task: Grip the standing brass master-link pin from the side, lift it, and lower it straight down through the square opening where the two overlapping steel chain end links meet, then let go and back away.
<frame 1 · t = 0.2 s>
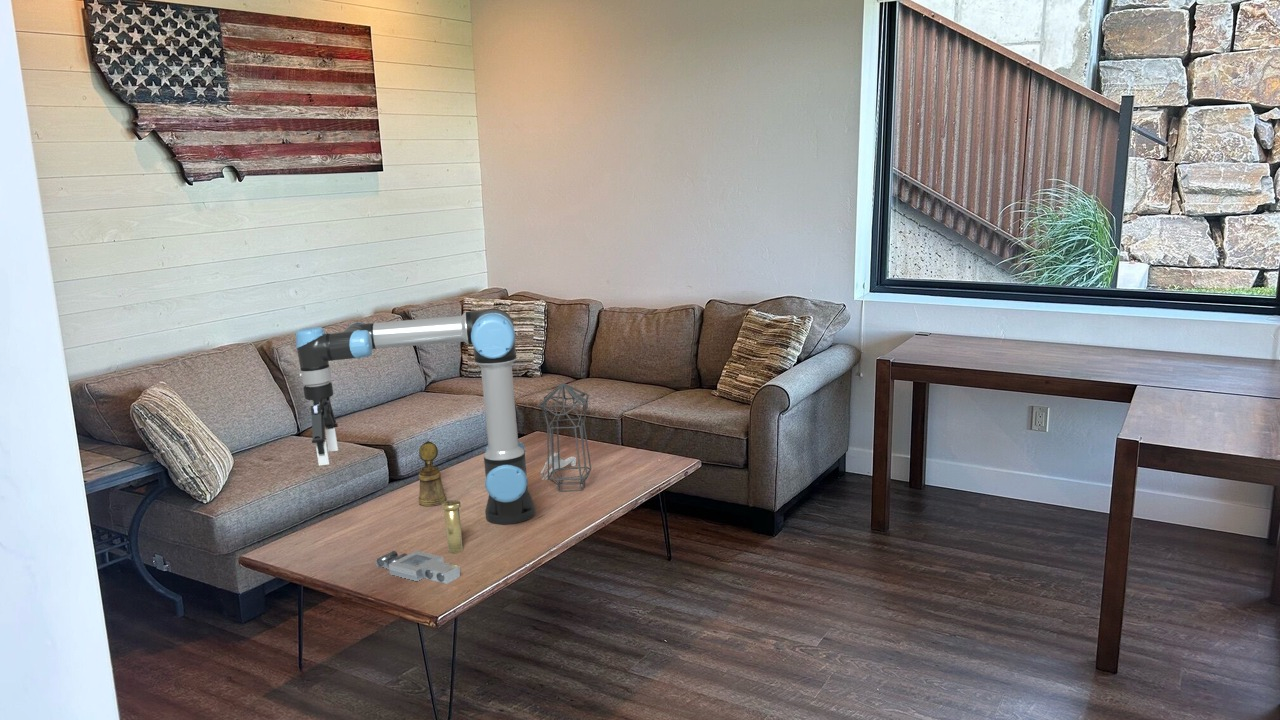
hand: (328, 457, 259), 27 cm above the table, tool pointing down, fingers open, 13 cm apart
geometric lantern: (570, 486, 308), on the table
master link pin: (455, 550, 259), on the table
chain ends: (417, 571, 247), on the table
brass bell: (432, 499, 302), on the table
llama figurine: (559, 474, 322), on the table
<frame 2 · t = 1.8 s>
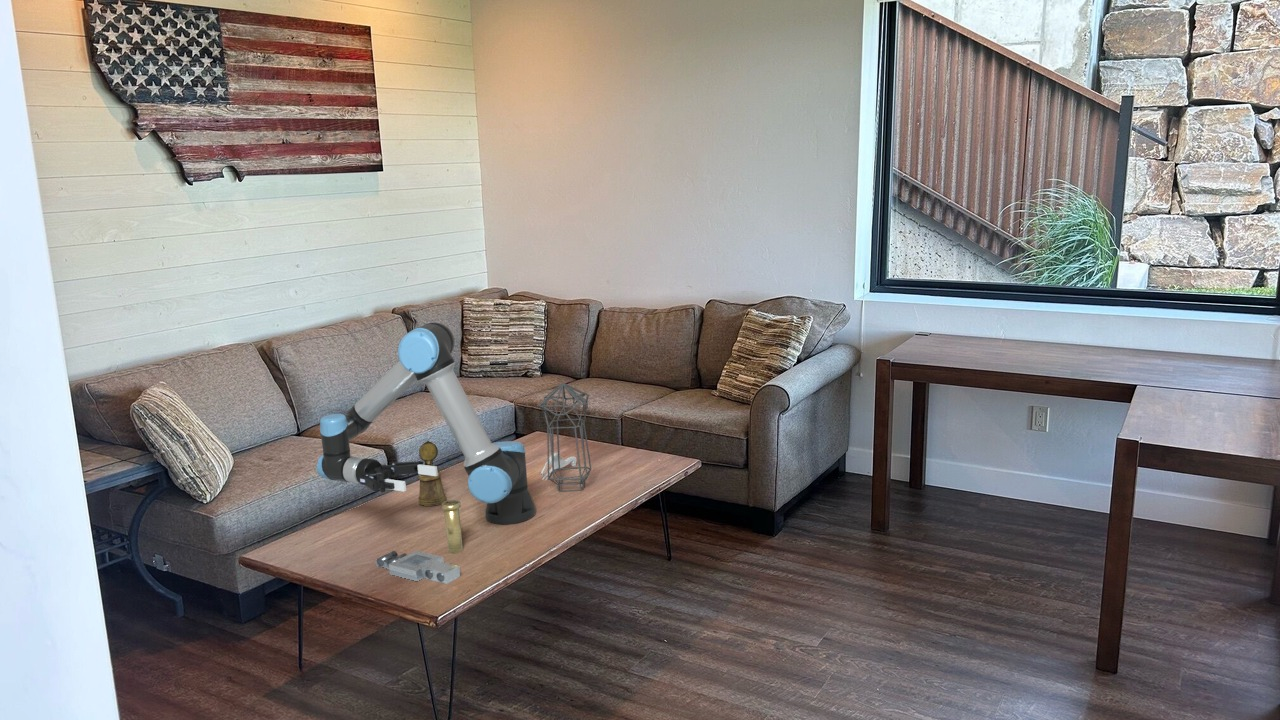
hand: (421, 478, 260), 20 cm above the table, tool horizontal, fingers open, 13 cm apart
nothing on the table moved.
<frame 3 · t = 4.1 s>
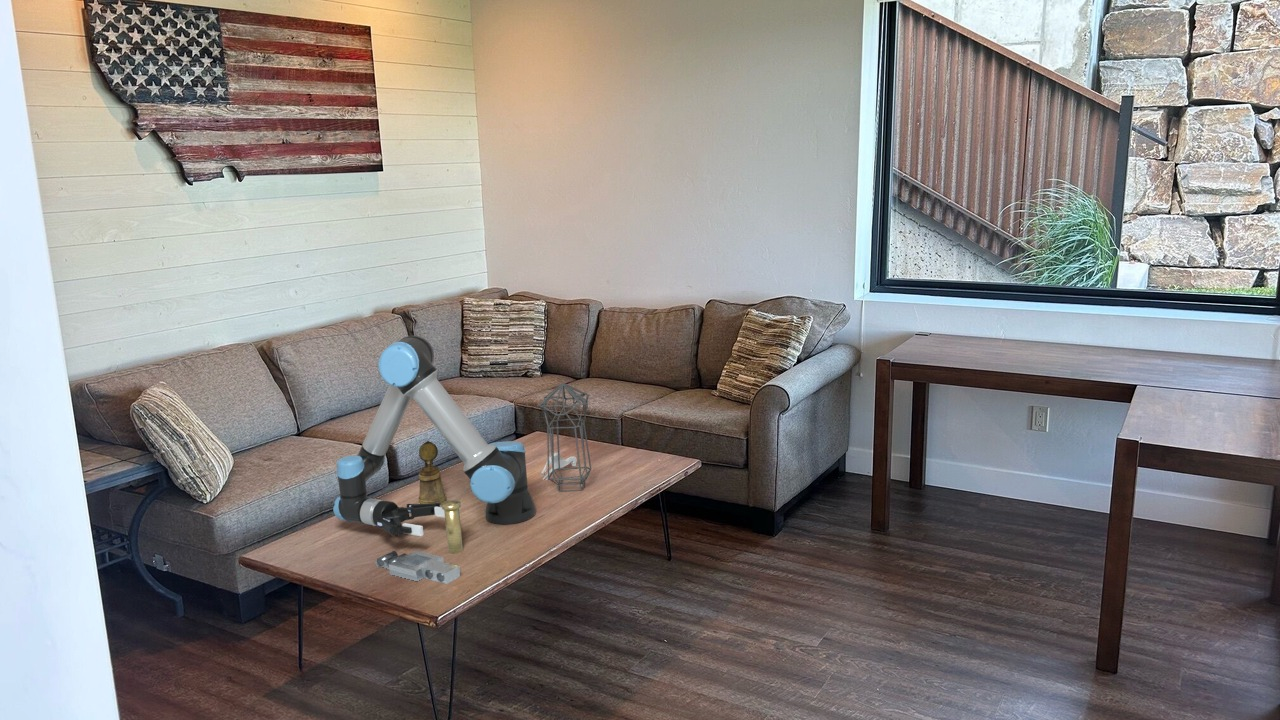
hand: (438, 522, 260), 8 cm above the table, tool horizontal, fingers open, 13 cm apart
nothing on the table moved.
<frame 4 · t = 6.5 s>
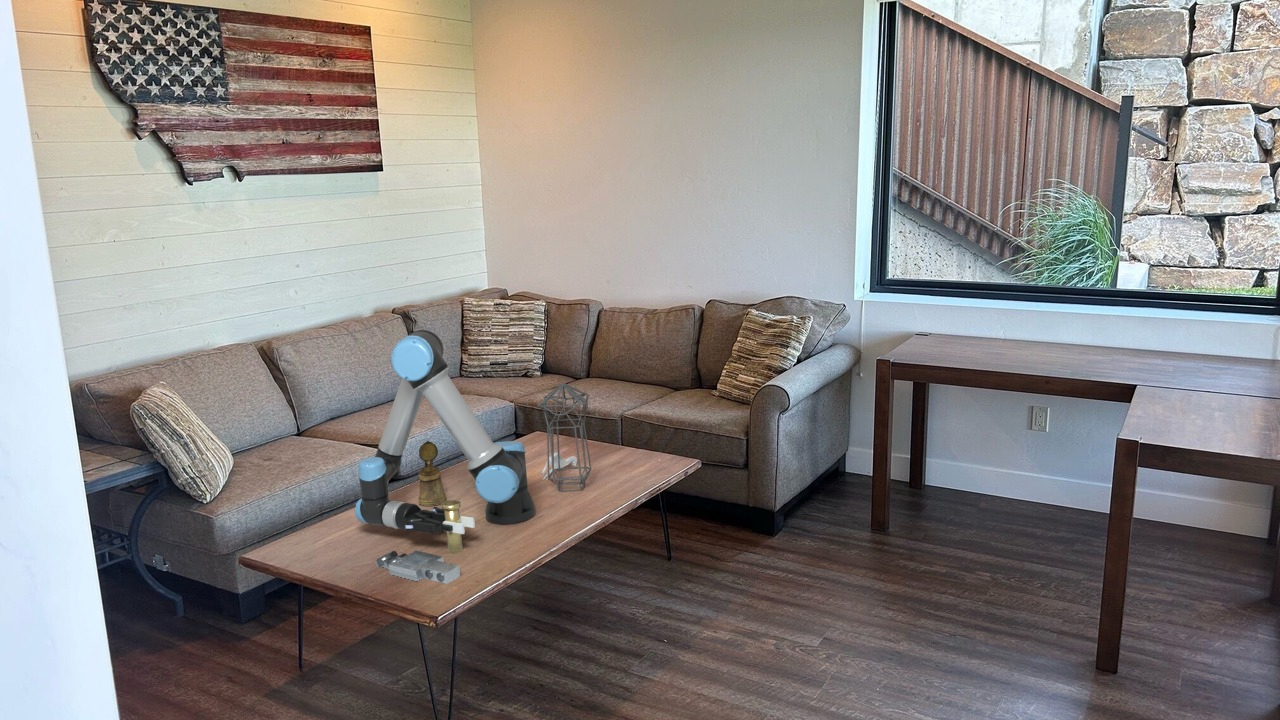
hand: (468, 525, 255), 8 cm above the table, tool horizontal, fingers closed on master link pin, 4 cm apart
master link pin: (455, 550, 259), on the table, touching gripper
everything else where it was.
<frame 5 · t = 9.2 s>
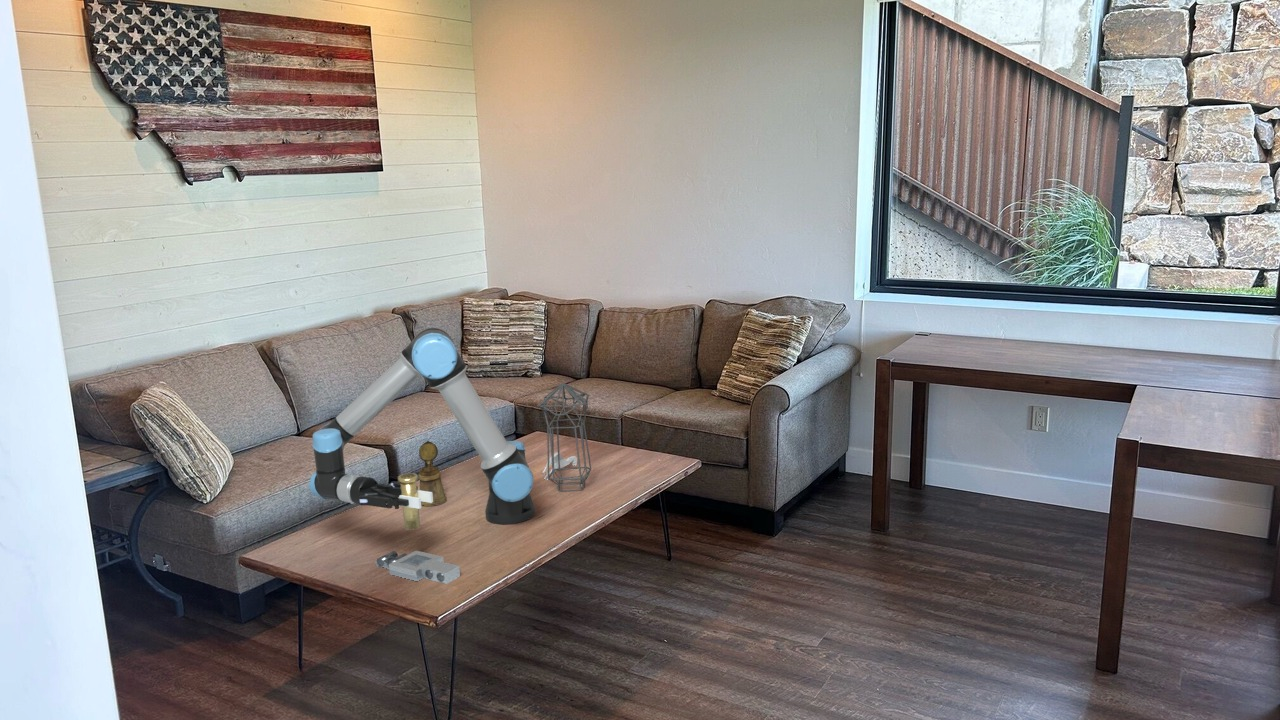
hand: (425, 500, 241), 20 cm above the table, tool horizontal, fingers closed on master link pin, 4 cm apart
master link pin: (412, 526, 245), point 12 cm above the table, touching gripper
everything else where it was.
when the fingers open (9 cm above the table, at t = 12.2 s): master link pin stays where it is, resting in chain ends.
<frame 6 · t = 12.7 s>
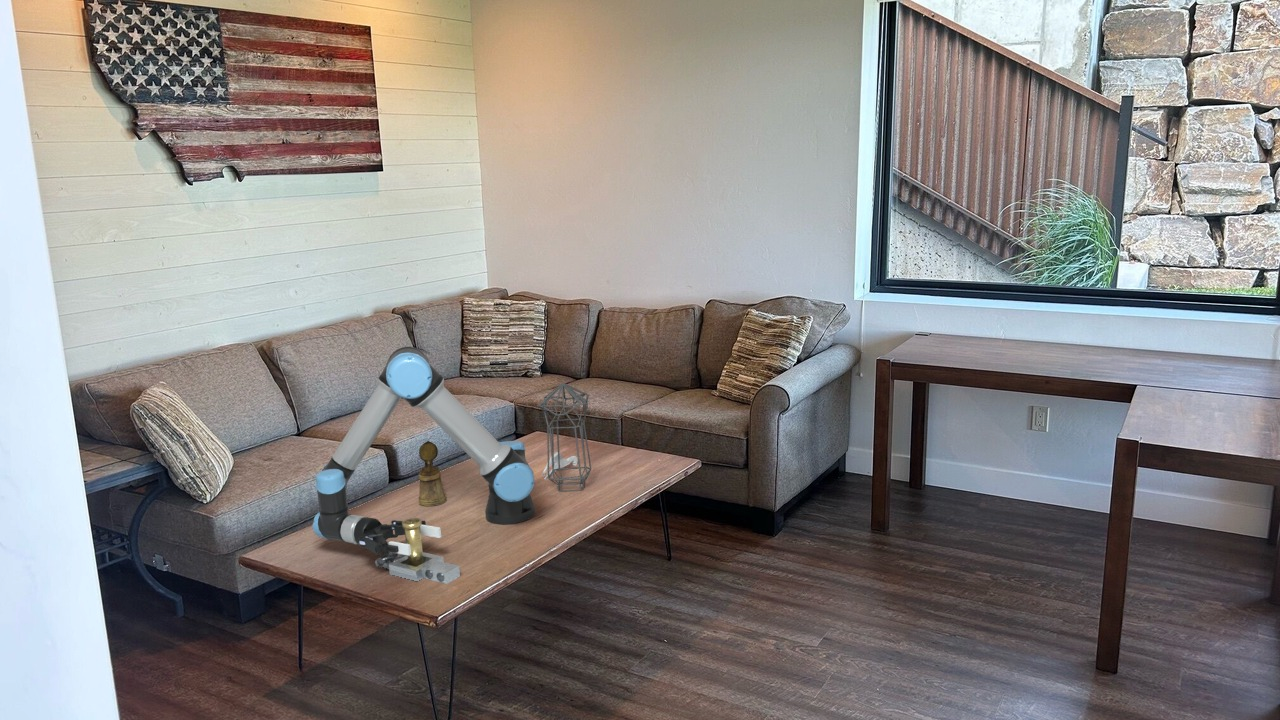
hand: (425, 541, 243), 9 cm above the table, tool horizontal, fingers open, 11 cm apart
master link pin: (416, 571, 247), resting in chain ends
everything else where it was.
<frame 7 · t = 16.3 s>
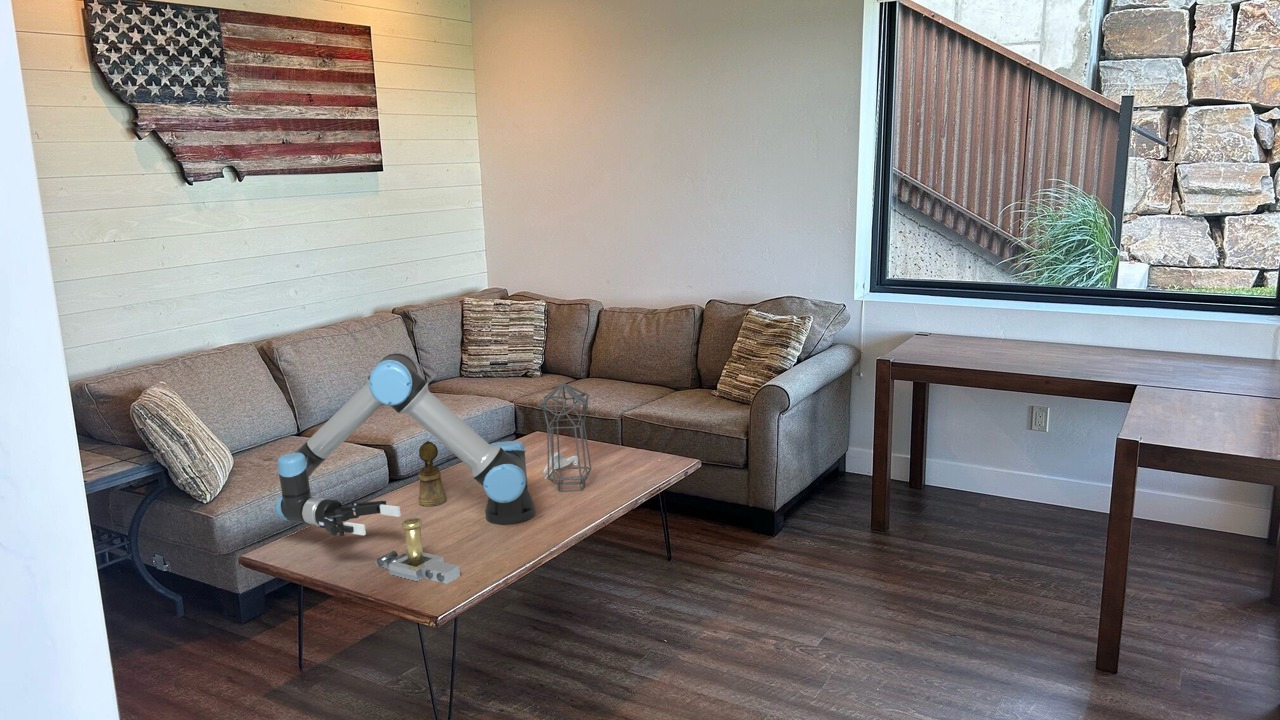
hand: (382, 520, 249), 13 cm above the table, tool horizontal, fingers open, 13 cm apart
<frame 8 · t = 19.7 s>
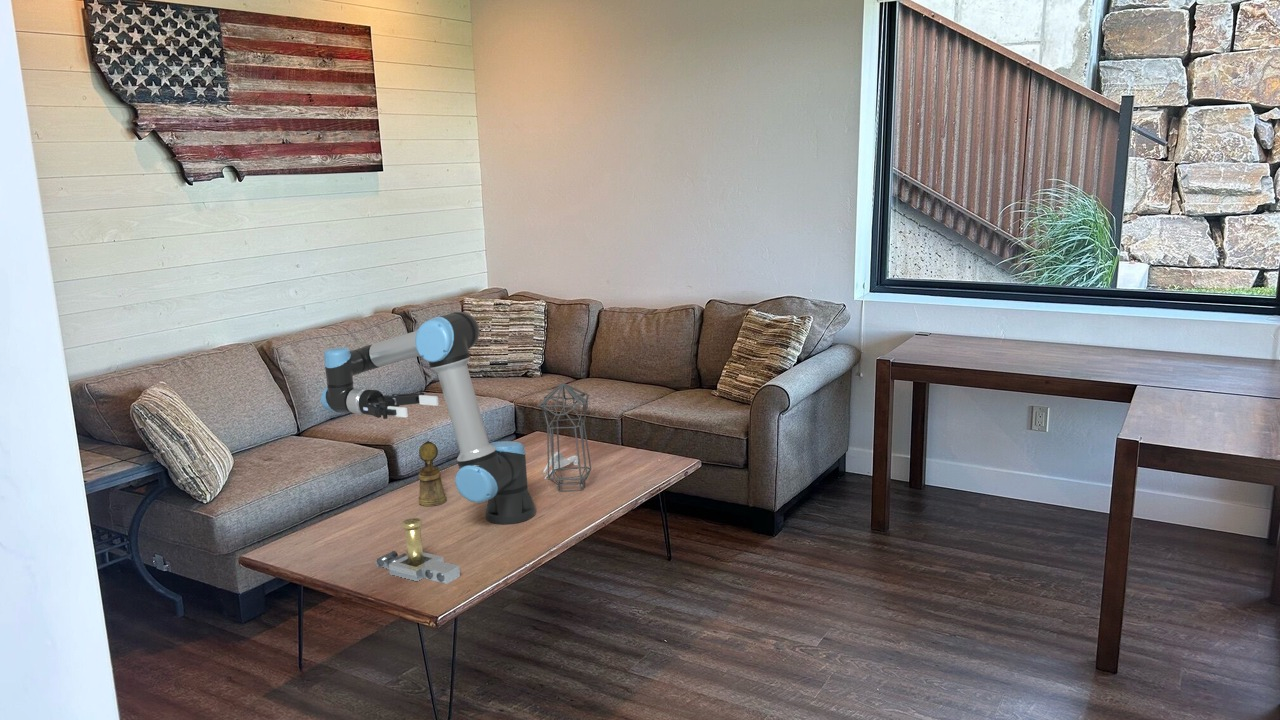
hand: (422, 406, 267), 38 cm above the table, tool horizontal, fingers open, 13 cm apart
at the end: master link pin 0.1 cm off-centre on the chain ends, point 0.0 cm above the chain ends's base; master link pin tilted 0°; the gripper is holding nothing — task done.
